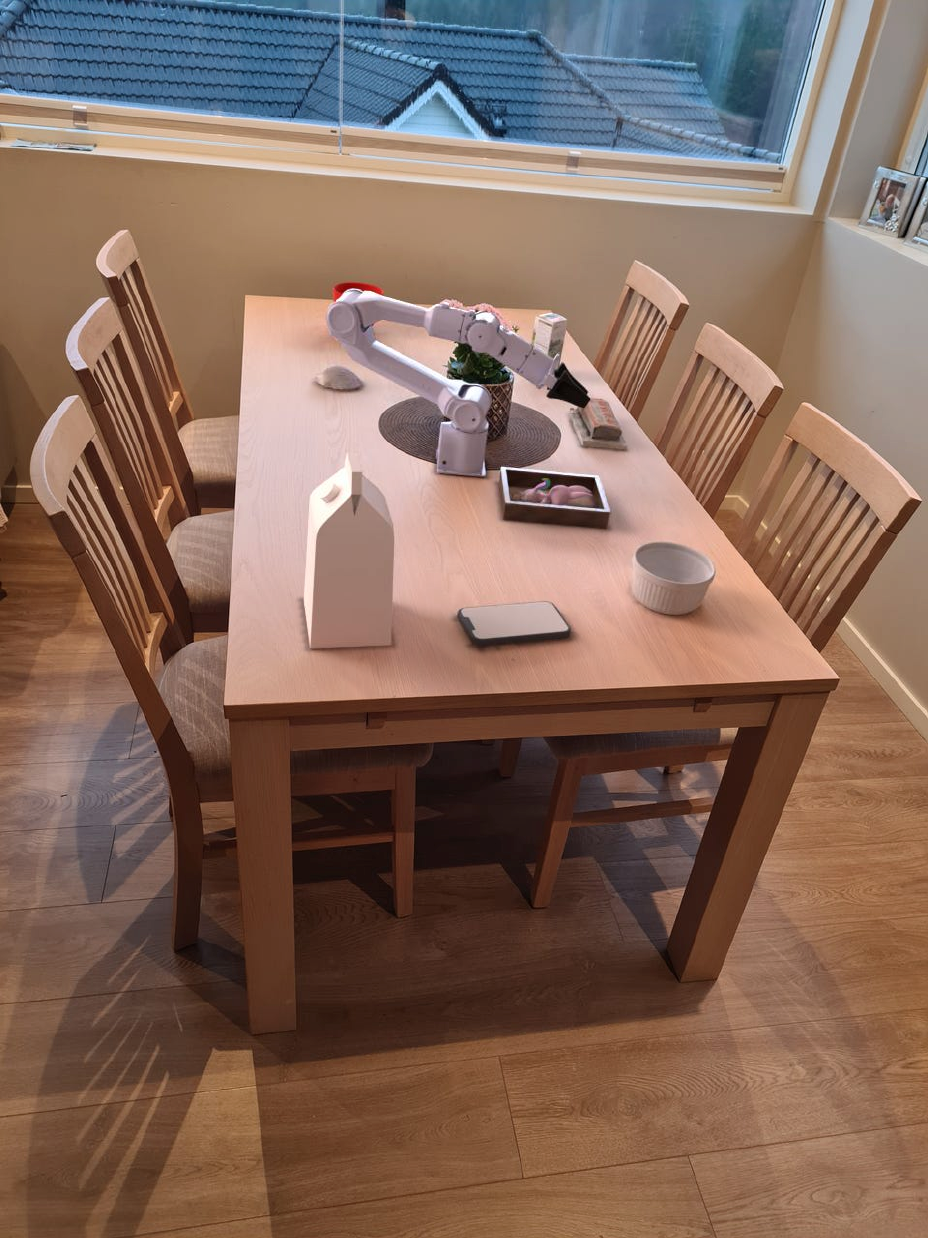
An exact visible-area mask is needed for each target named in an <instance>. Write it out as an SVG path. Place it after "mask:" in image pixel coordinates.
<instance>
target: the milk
mask: <svg viewBox="0 0 928 1238" xmlns="http://www.w3.org/2000/svg"><path fill="white" fill-rule="evenodd" d="M345 454H346V456H345V460H344V467H342V468H340V469H339V470H338V471H337V472H335V473H334V474H333V475H332V476H330V477H329V478H327V479H326V480H324V481H323V482H322V483H321V484H319V485H318V486H317V487H316V488H315V489H314V490H313V491H312V493H311V494H310V497H309V504H308V505H309V506H308V521H307V522H308V523H307V539H306V556H305V557H306V558H305V573H304V589H303V592H304V593H303V605H304V610H305V613H304V614H305V619H306V626H307V627H306V628H307V634H308V642H309V649H311V650H312V649H332V648H333V649H334V648H357V647H358V648H359V647H360V648H361V647H363V648H364V647H385V646H392V629H393V627H392V626H393V598H394V595H393V594H394V566H395V565H394V564H395V563H394V562H395V532H394V531H395V529H394V522H393V519H392V516H391V513H390V509H389V506H388V503H387V499H386V497H385V495H384V494H383V492H382V491H381V490H380V488H379V487H378V486H377V485H376V484H375V483H374V482H372V481H371V480H370V479H369V478H367V476H366V475H365V474H363V470H362V466H361V462H360V459H359V456H358V452H357V451H346V453H345Z"/></svg>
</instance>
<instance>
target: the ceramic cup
mask: <svg viewBox="0 0 928 1238" xmlns="http://www.w3.org/2000/svg"><path fill="white" fill-rule="evenodd" d="M350 289H358V290H361V291H363V292H364V291H371V292H374V293H376V294H378V295H381V296H384V295H385V294H384V290H383V289H382V288H381V287H380V286H379V287H378V286H376V285H373V284H369V283H366V282H365V283H363V282H351V281H349V282H341V283H337V284H335V285H334V286H333V287H332V295H333V297H332V298H333V303H334V302H336V301H337V300H338V299H339V298H340V297H341V296H342V294H343V293H344V292H346V291H347V290H350ZM375 324H376V323H374V324H372V327H373V326H374V325H375Z"/></svg>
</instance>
